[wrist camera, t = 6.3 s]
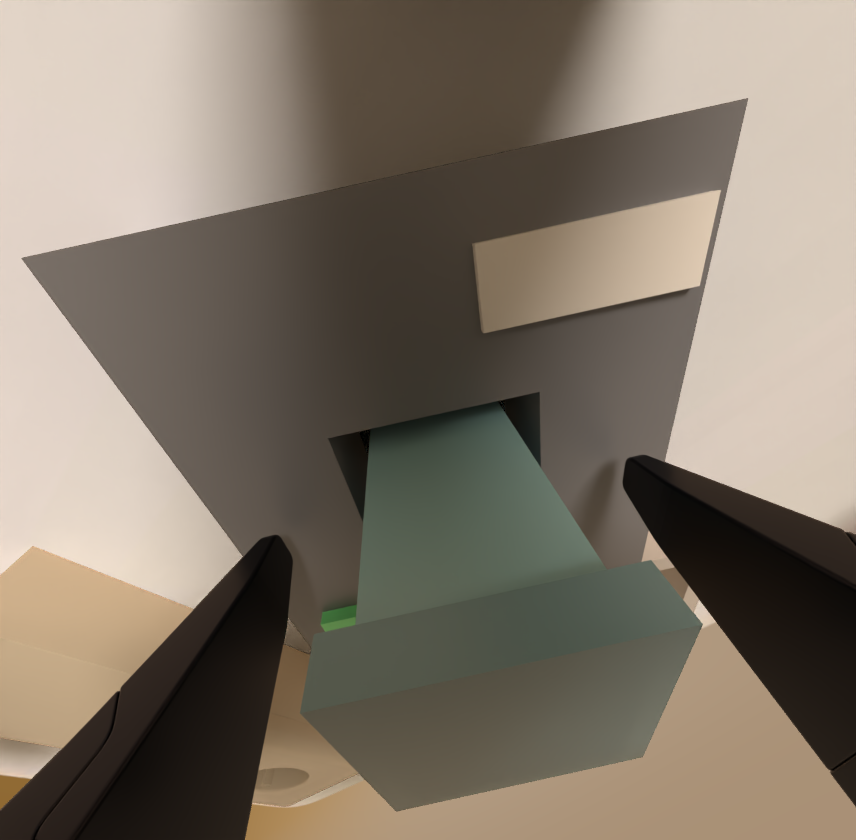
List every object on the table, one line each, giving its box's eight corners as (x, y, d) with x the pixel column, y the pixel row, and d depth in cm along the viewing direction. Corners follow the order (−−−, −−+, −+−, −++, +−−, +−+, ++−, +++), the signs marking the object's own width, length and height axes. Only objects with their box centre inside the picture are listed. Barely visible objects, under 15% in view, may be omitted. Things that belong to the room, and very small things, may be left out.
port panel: (629, 140, 8) (772, 88, 5) (591, 532, 15) (640, 605, 12) (140, 249, 8) (-4, 260, 5) (333, 588, 15) (320, 675, 12)
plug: (493, 363, 10) (703, 624, 4) (502, 469, 13) (643, 757, 6) (356, 392, 10) (299, 713, 4) (390, 494, 13) (396, 811, 6)
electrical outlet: (-93, 658, 9) (379, 767, 17) (42, 537, 12) (380, 674, 20) (-176, 752, 11) (287, 810, 19) (-37, 622, 14) (303, 718, 22)
